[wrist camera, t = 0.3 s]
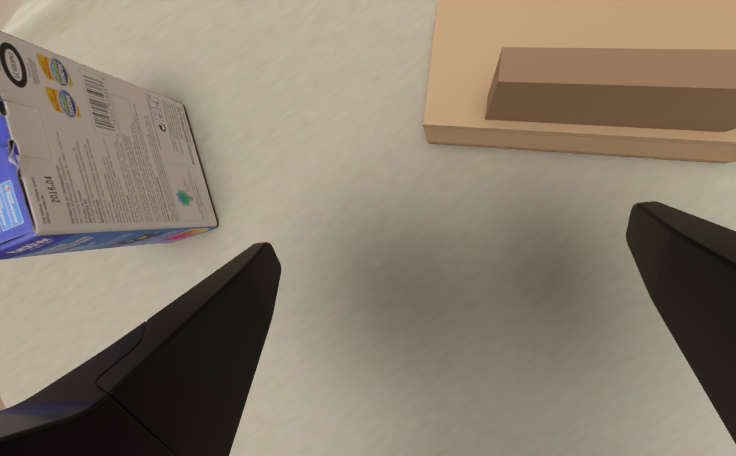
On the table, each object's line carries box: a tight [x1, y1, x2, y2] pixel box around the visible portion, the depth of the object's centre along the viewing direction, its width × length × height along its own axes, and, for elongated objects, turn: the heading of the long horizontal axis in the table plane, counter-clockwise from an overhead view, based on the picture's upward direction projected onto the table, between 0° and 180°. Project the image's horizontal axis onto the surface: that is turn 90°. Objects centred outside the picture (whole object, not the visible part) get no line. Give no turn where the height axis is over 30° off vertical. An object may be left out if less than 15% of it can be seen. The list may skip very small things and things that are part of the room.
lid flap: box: [423, 0, 736, 147], centre depth 15 cm, size 16×8×6 cm, turn 84°
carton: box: [424, 128, 736, 163], centre depth 20 cm, size 16×8×4 cm, turn 84°
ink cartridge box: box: [0, 31, 217, 260], centre depth 21 cm, size 10×6×14 cm, turn 18°
